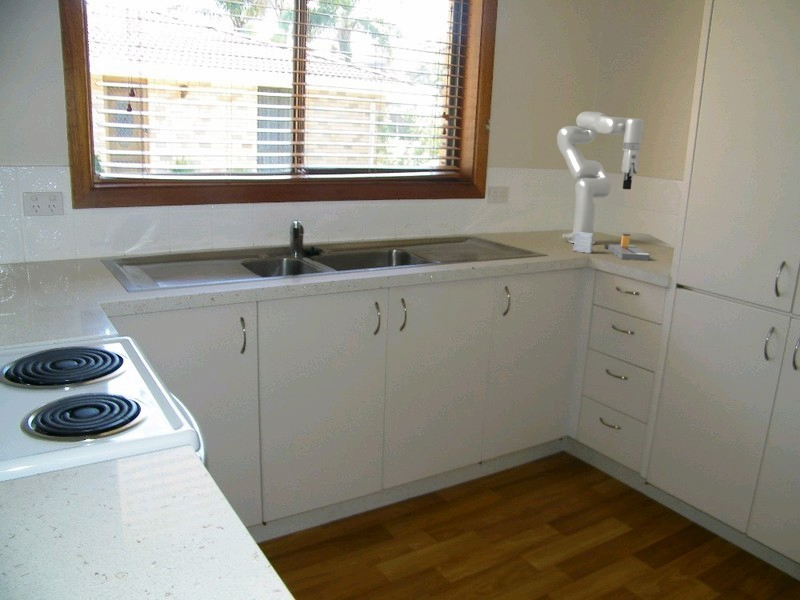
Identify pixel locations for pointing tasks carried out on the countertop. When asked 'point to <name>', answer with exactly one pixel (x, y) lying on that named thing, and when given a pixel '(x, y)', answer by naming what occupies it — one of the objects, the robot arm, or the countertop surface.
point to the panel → (629, 252)
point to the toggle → (625, 240)
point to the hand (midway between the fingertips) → (626, 189)
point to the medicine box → (583, 242)
